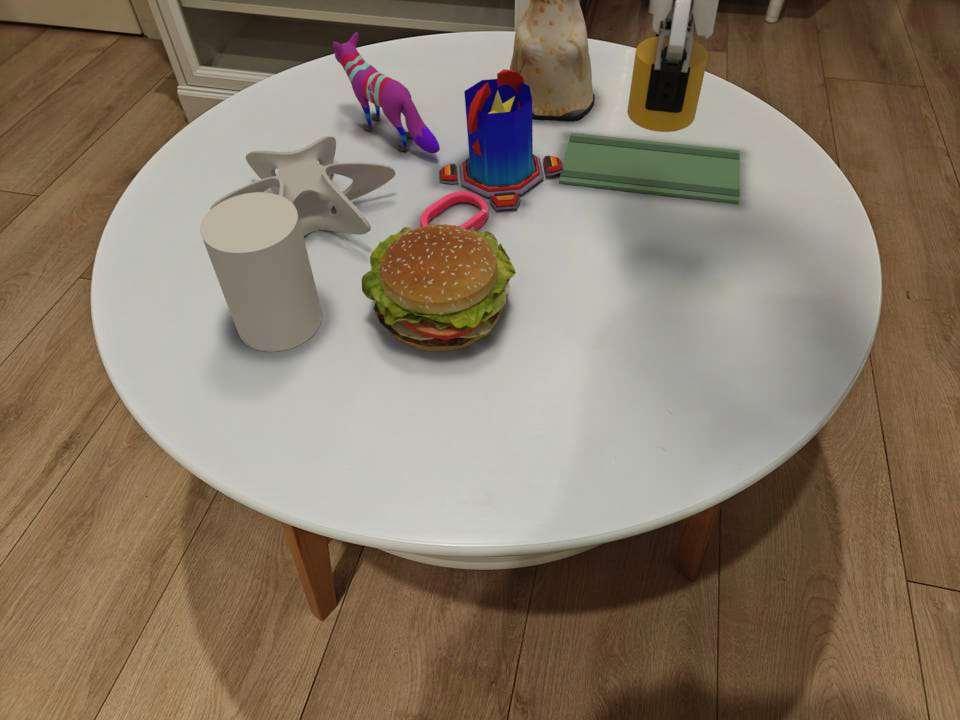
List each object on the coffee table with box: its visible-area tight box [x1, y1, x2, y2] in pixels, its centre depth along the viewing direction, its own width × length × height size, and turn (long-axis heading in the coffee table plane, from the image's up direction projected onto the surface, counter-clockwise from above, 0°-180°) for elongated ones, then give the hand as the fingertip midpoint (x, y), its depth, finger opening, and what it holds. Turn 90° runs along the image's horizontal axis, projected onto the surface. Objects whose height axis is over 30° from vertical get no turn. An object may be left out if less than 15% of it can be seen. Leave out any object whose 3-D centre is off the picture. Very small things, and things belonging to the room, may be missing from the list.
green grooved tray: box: [558, 132, 741, 204], centre depth 89 cm, size 20×10×1 cm, turn 77°
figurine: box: [509, 0, 596, 122], centre depth 92 cm, size 12×10×20 cm
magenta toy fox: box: [332, 31, 441, 154], centre depth 91 cm, size 4×18×10 cm, turn 45°
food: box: [361, 223, 517, 352], centre depth 72 cm, size 14×14×8 cm
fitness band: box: [419, 190, 490, 231], centre depth 83 cm, size 8×6×2 cm
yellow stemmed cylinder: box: [626, 36, 709, 133], centre depth 68 cm, size 6×6×8 cm
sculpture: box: [209, 135, 396, 237], centre depth 82 cm, size 18×20×6 cm
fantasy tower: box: [438, 68, 564, 211], centre depth 84 cm, size 12×12×12 cm
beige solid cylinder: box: [199, 192, 323, 353], centre depth 69 cm, size 8×8×12 cm
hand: (665, 87), depth 69 cm, fingers closed on yellow stemmed cylinder, 6 cm apart
